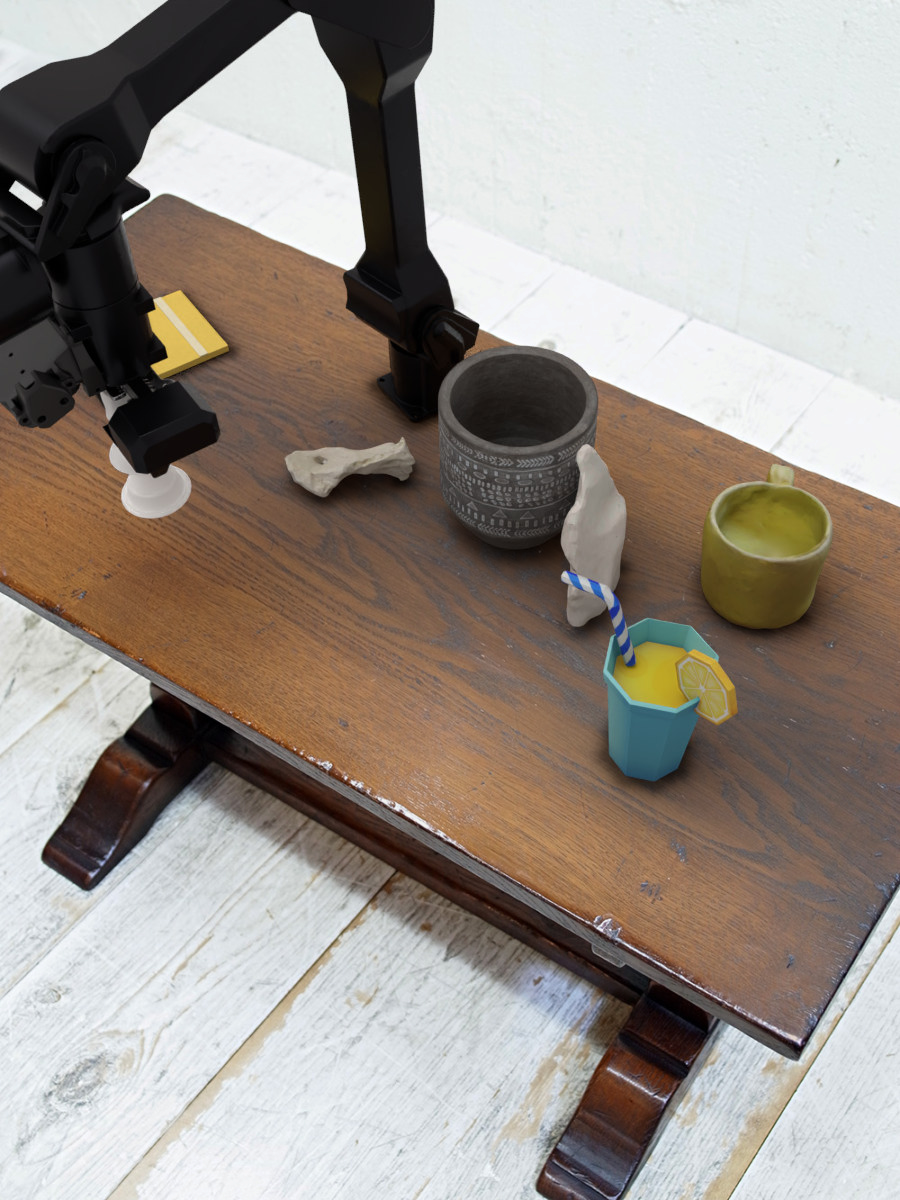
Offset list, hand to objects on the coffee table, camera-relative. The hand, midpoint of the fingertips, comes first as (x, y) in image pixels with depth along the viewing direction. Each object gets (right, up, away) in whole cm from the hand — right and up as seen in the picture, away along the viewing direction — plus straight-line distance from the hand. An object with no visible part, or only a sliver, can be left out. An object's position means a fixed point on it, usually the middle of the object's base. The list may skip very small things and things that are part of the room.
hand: (144, 454), depth 95 cm
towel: (-6, +13, +26) cm, 30 cm away
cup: (+36, -21, -2) cm, 42 cm away
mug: (+47, -9, +8) cm, 48 cm away
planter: (+28, -4, +12) cm, 31 cm away
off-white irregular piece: (+14, -1, +15) cm, 21 cm away
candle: (0, -3, +4) cm, 4 cm away
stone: (+35, -10, +7) cm, 37 cm away
